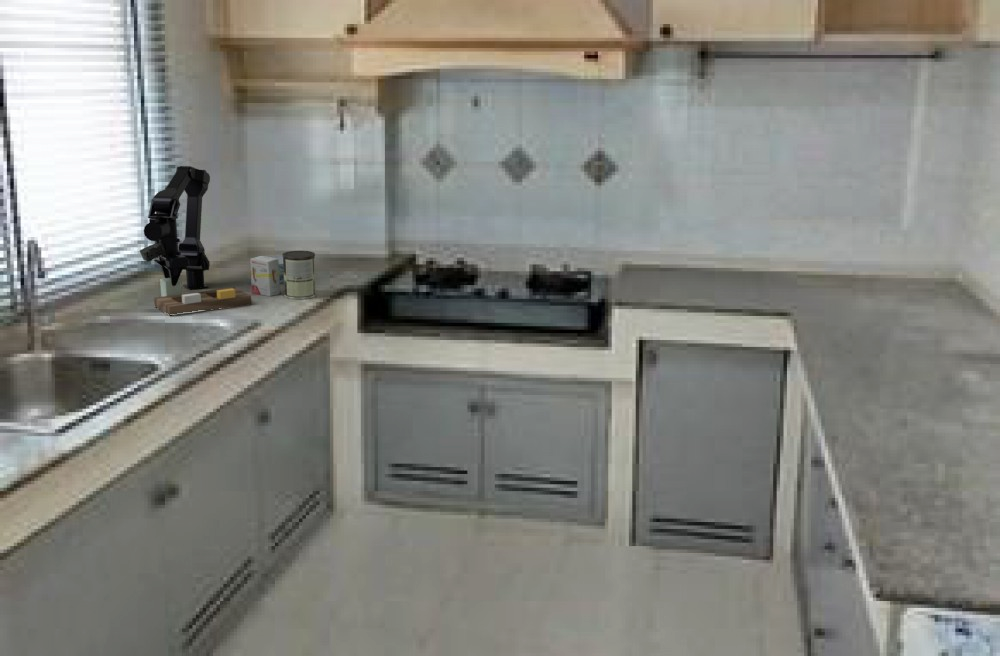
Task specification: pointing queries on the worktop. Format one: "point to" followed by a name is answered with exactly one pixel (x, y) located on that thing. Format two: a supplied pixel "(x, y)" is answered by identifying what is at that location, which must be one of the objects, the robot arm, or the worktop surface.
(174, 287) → the pale mint cube
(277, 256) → the chinaware
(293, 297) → the coffee can
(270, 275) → the ink box
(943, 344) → the worktop surface
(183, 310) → the socket block
